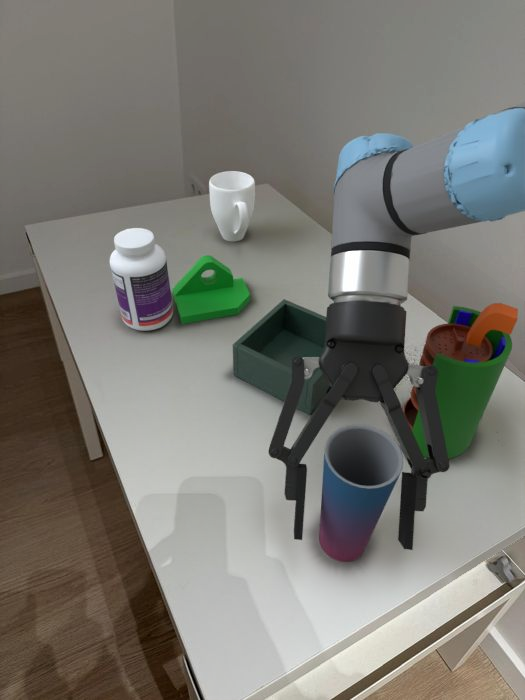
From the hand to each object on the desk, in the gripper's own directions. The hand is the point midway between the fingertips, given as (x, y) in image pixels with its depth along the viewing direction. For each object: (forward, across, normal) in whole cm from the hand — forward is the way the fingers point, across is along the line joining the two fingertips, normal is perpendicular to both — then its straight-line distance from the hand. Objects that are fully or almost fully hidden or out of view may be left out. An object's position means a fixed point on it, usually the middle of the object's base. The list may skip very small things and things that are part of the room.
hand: (351, 539), depth 49 cm
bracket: (-26, +20, -34) cm, 47 cm away
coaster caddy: (-10, -12, -18) cm, 24 cm away
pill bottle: (-22, +30, -31) cm, 48 cm away
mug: (-40, +19, -48) cm, 66 cm away
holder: (-16, +6, -24) cm, 30 cm away
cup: (+2, 0, -6) cm, 7 cm away
